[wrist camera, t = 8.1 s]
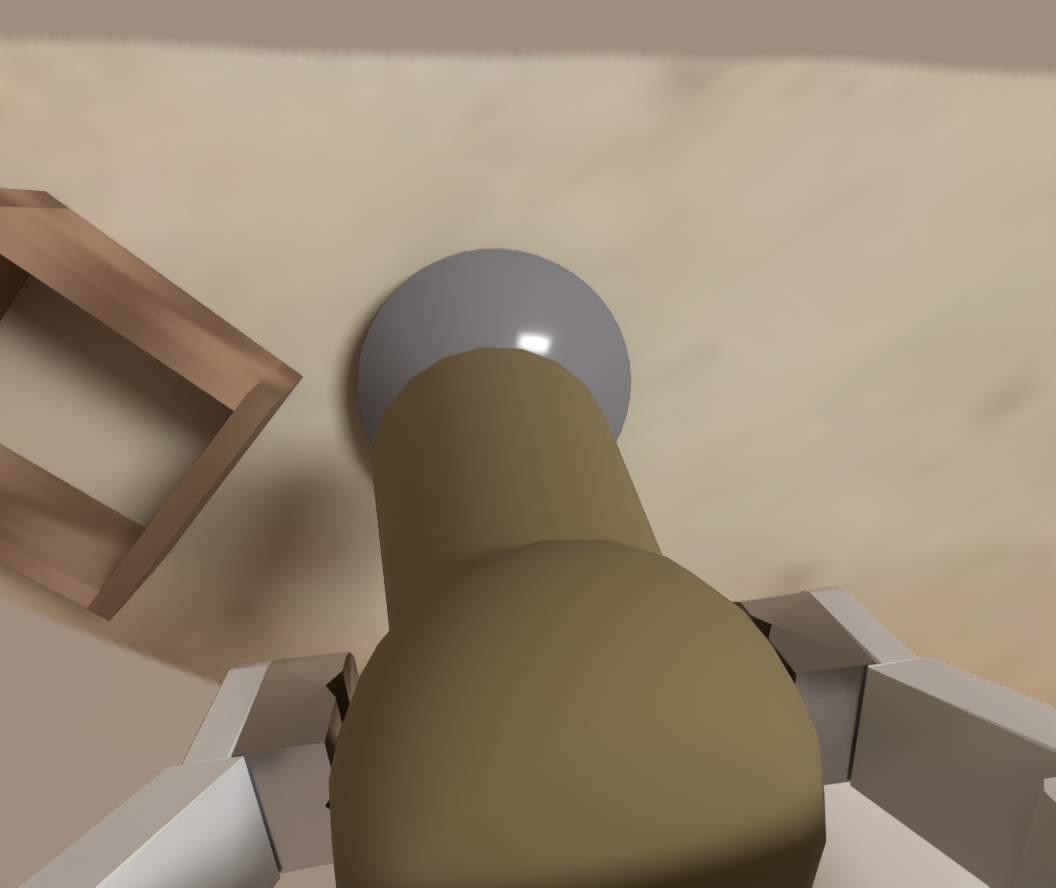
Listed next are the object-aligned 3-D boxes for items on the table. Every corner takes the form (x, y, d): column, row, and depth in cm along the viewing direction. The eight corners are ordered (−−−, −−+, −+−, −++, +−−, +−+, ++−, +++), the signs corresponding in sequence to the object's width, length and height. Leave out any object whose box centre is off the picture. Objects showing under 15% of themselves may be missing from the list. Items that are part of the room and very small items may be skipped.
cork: (487, 611, 17) (572, 1211, 7) (317, 464, 15) (59, 1011, 5) (657, 467, 16) (1049, 895, 6) (504, 291, 14) (696, 479, 4)
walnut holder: (302, 376, 23) (271, 407, 19) (163, 559, 24) (109, 620, 21) (45, 191, 20) (-52, 184, 16) (-91, 414, 22) (-206, 454, 18)
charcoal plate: (676, 367, 24) (685, 373, 23) (511, 548, 26) (512, 560, 25) (476, 185, 21) (477, 183, 20) (306, 404, 23) (300, 412, 22)
